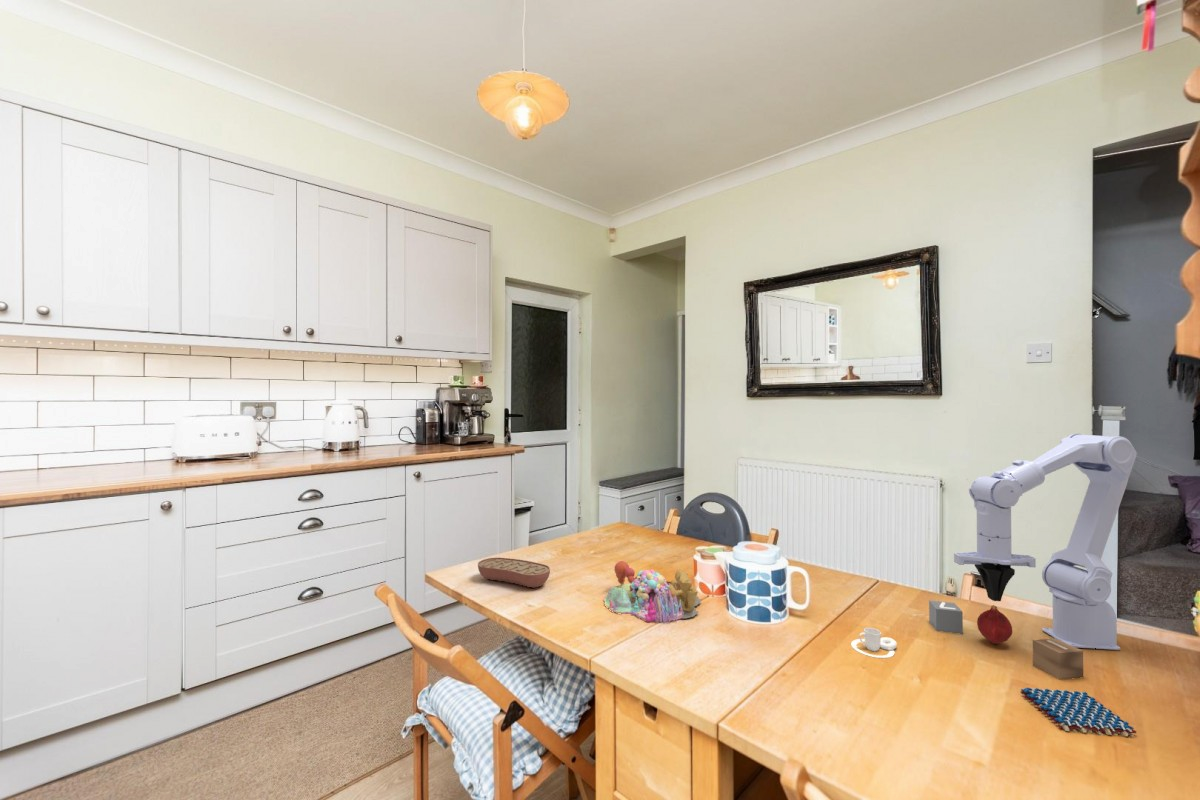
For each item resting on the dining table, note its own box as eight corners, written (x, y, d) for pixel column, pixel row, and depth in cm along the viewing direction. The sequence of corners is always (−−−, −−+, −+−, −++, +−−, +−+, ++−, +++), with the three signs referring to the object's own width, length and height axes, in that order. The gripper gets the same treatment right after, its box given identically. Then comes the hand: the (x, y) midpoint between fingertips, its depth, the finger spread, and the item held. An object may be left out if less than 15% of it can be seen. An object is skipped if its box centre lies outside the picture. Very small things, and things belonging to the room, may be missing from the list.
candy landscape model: (693, 587, 140) (693, 554, 140) (710, 625, 116) (710, 585, 116) (604, 587, 140) (603, 554, 140) (602, 624, 117) (602, 585, 117)
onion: (1018, 652, 102) (1018, 612, 102) (986, 649, 103) (986, 610, 103) (1002, 638, 108) (1001, 601, 108) (971, 636, 109) (971, 599, 109)
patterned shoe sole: (471, 582, 144) (471, 564, 144) (493, 571, 153) (492, 555, 153) (538, 595, 134) (538, 576, 134) (557, 583, 143) (557, 565, 143)
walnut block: (1055, 664, 98) (1055, 637, 98) (1083, 678, 93) (1083, 650, 93) (1032, 665, 97) (1032, 639, 97) (1059, 680, 92) (1059, 652, 92)
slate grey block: (954, 624, 115) (954, 602, 115) (962, 634, 110) (962, 611, 110) (929, 621, 116) (929, 599, 116) (936, 631, 112) (936, 608, 112)
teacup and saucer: (894, 645, 106) (894, 625, 106) (903, 663, 99) (903, 643, 99) (848, 638, 109) (848, 620, 109) (853, 656, 102) (853, 636, 102)
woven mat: (1141, 742, 76) (1141, 729, 76) (1062, 735, 78) (1062, 722, 78) (1086, 701, 86) (1086, 689, 86) (1017, 696, 88) (1017, 684, 88)
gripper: (967, 538, 102) (967, 605, 102) (1046, 541, 100) (1046, 608, 100) (948, 529, 109) (948, 592, 109) (1021, 531, 107) (1022, 595, 107)
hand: (994, 599), depth 105 cm, fingers closed
